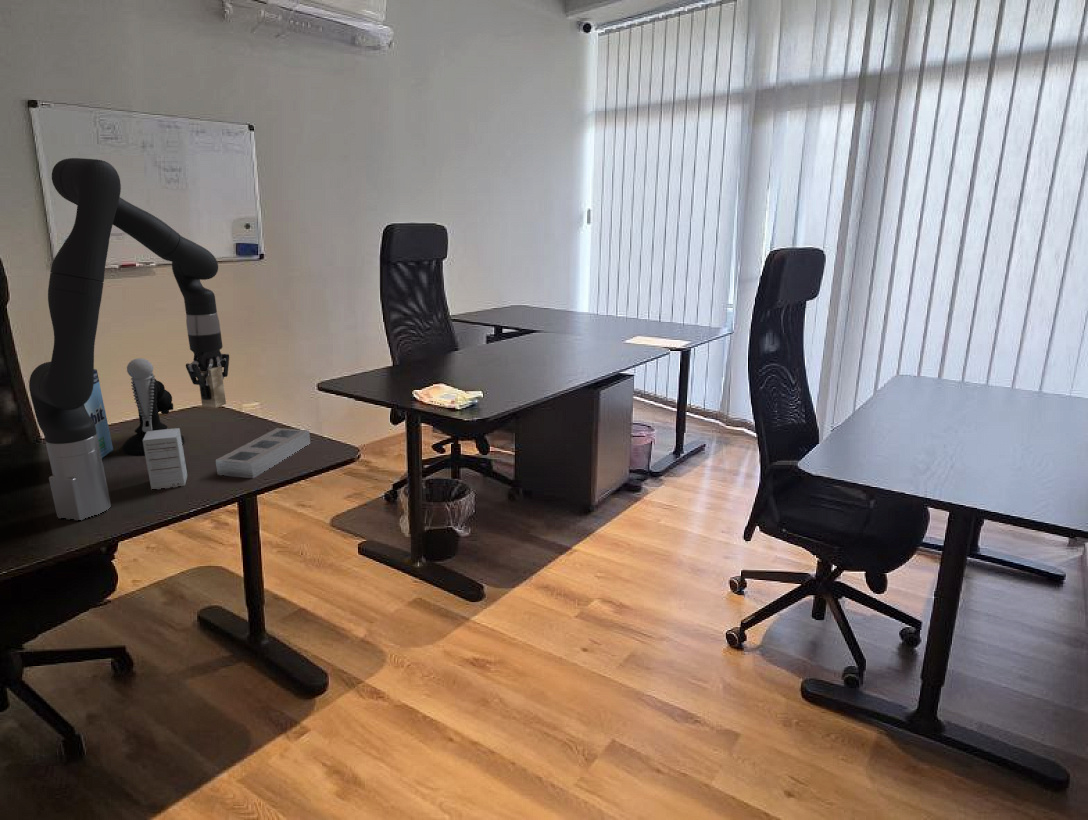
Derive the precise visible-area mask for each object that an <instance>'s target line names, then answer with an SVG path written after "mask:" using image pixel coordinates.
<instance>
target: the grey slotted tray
mask: <svg viewBox="0 0 1088 820" xmlns="http://www.w3.org/2000/svg"><path fill="white" fill-rule="evenodd" d="M309 444H310V445H311V435H310V430H309V429H308V430H306V429H294V428H293V429H292V428H281V427H280V428H279V427H277V428H274V429H272V430H271V431H269V432H267V433H265V434H263V435H261V436H259V437H258V438H255V439H254V440H252V441H250V442H248V443H247V442H246V444H244V445H241V446H240V447H238V448H236V449H234V450H232V451H231V452H229V453H226V454H224V455H222V456H220V457H219V458H217V459H215V465H216V472H217V476H222V475H224V477H233V478H234V477H235V478H246V479H255V478H256V477H258V476H260V475H261V474H263V473H265V472H266V471H268V470H270V469H271V468H273V467H275V466H277V465H278V464H280V463H281V462H283V461H285V460H286V459H288V458H290V457H292V456H293V455H295V454H296V453H298V452H300V451H301V450H300V449H302V448H303V449H305V448H306V447H305V446H307V445H308V446H309ZM308 446H307V447H308ZM304 447H305V448H304ZM303 449H302V450H303ZM299 450H300V451H299ZM297 451H298V452H297ZM295 452H296V453H295ZM294 453H295V454H294ZM292 454H293V455H292ZM289 456H290V457H289ZM287 457H288V458H287ZM284 459H285V460H284ZM282 460H283V461H282ZM279 462H280V463H279ZM274 465H275V466H274ZM269 468H270V469H269ZM264 471H265V472H264Z"/></svg>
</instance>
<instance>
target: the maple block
mask: <svg viewBox="0 0 1088 820" xmlns="http://www.w3.org/2000/svg"><path fill="white" fill-rule="evenodd" d="M222 370H223V368H222V369H221V366H220V367H214V368H212V369H211V370H210V376H209V381H210V382H209V385H210V391H211V399H210V400H204V399H203V398H202V396H201V389H200V386H199V385H198V386H199V392H200V399H201V406H202V408H211V409H212V408H213V409H217V408H219V407H221V406H224V405H227V401H226V400H227V399H226V392H225V385H224V379H223V377H222V372H223V371H222ZM200 372H201V373H206V372H207V371H201V370H200ZM202 378H203V380H204V381H205V376H202Z"/></svg>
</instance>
